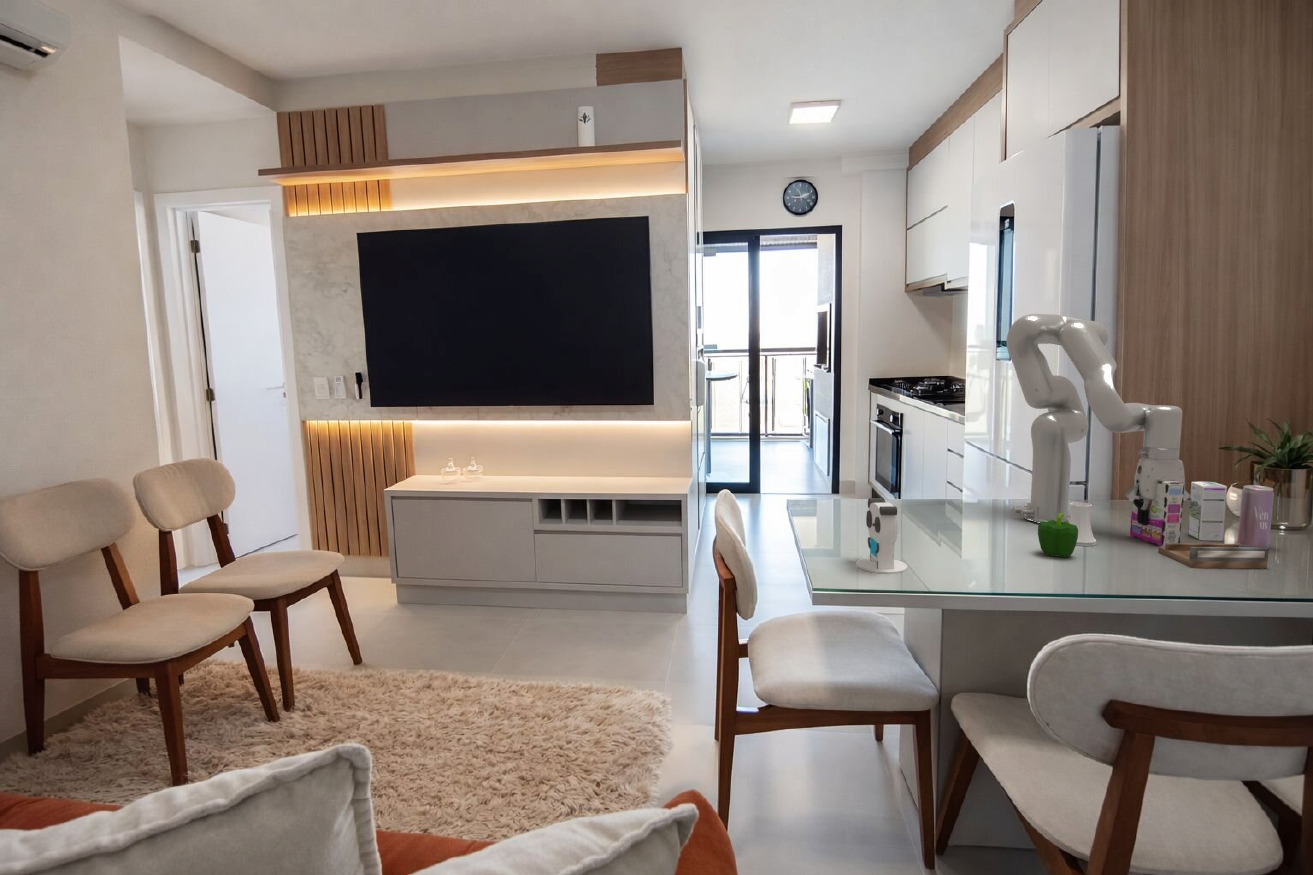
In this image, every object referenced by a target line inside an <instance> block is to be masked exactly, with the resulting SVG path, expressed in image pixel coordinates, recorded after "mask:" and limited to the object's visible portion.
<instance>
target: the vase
mask: <svg viewBox="0 0 1313 875" xmlns="http://www.w3.org/2000/svg"><path fill="white" fill-rule="evenodd" d="M1069 506H1070V514H1069V516H1070V521H1069V523H1070V524H1072V525H1076V526H1077V528H1078V539H1077V542H1076V546H1082V547H1083V546H1084V547H1090V546H1096V545H1097V539H1096V538H1095V537H1094V534H1093V530H1092V524H1091V511H1092V507H1093V504H1091V503H1088V502H1081V501H1080V502H1077V501H1075V502H1070V503H1069Z"/></svg>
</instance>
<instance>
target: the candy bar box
mask: <svg viewBox="0 0 1313 875" xmlns="http://www.w3.org/2000/svg"><path fill="white" fill-rule="evenodd" d="M1134 480H1135V475H1134V476H1133V481H1134ZM1184 484H1185V485H1186V482H1185V483H1183V482H1178V481H1158V484H1157V497H1156V499H1155V500H1150V502H1149V504H1148V507H1147V510H1148V511H1149V517H1148V525H1142V524H1139V523H1138V520H1137V512H1138V508H1137V507H1136V506H1135V505H1134V504H1133V503H1132V502H1131V504H1132V505H1131V516H1130V528H1129V530H1130V532H1129V537H1132V538H1134V539H1135V540H1140V541H1143V542H1146V543H1149V544H1151V545H1154V546H1158V547H1159V546H1165V545H1166V543H1181V532H1182V531H1181V530H1182V521H1183V520H1182V519H1183V518H1182V516H1183V509H1184V508H1183V507H1184V502H1183V497H1184ZM1135 497H1136V498H1137V499H1138V498H1139V496H1136V495H1135Z"/></svg>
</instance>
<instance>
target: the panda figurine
mask: <svg viewBox="0 0 1313 875" xmlns="http://www.w3.org/2000/svg"><path fill="white" fill-rule="evenodd" d="M867 507H868V508H867V509H868V510H867V511H866V517H865V518H866V520H865V523H866V527H867V529H868V534H869V537H867V545H868V548H869V557H864V558H860V559H858V560H857V561H856V562H855V563H856V564H855V565H856V566H857V567H858V569H861V570H862V571H866V572H869V573H870V572H871V573H876V574H884V575H885V574H886V575H887V574H888V575H890V574H900V573H901V574H902V573H904V572H906V571H907V570H908V567H909V566H908V565H907V563H905V562H903V561H901V560H898V559H895V544H896V541H897V537H898V507H897V506H895V505H893V504H892V503H891V502H886V499H885V498H884V497H877V498H876V497H871V498H870V497H869V498H868V499H867Z"/></svg>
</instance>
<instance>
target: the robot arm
mask: <svg viewBox="0 0 1313 875" xmlns="http://www.w3.org/2000/svg"><path fill="white" fill-rule="evenodd" d="M1108 340H1109V332H1108V329H1107V328H1106V327H1105V326H1104V324H1102V323H1101V322H1098V321H1095V320H1089V319H1081V318H1078V317H1077V318H1076V317H1071V316H1065V315H1059V314H1048V313H1047V314H1046V313H1032V314H1031V313H1030V314H1026V315H1023V316H1021V317H1019V318H1018V319H1017V320H1015V321H1014V322H1013V323H1012V324H1011V326H1010V328H1009V329H1008V332H1007V336H1006V348H1007V349H1006V350H1007V352H1008V355H1009V357H1010V361H1011V362H1012V365H1013V368H1014V370H1015V374H1016V377H1017V379H1018V382H1019V386H1020V388H1021V391H1022V395H1023V396H1024V401H1025V402H1026V403H1027V405H1028V406H1030V407H1031V408H1032V409H1033V408H1034V409H1035V410H1043V409H1044V410H1046V409H1047V410H1048V412H1043V413H1041V414H1039V415H1038V416H1036V417H1035V418H1034V420H1033V421H1032V424H1031V426H1030V427H1031V428H1030V435H1031V443H1032V444H1031V446H1032V465H1031V466H1032V471H1031V489H1030V502H1026V505H1023V506H1019V505H1018V506H1015V505H1014V506H1013V507H1012V512H1013V514H1021V515H1023V518H1024V517H1025V518H1026V519H1031V520H1033V521H1036V522H1045V521H1046V522H1047V521H1050V520H1055V521H1057V516H1058V514H1059V513H1063V514H1064V516H1063V517H1062V520H1061V522H1064V521H1067V522H1069V521H1070V515H1069V500H1070V499H1069V498H1070V481H1071V462H1072V461H1071V451H1070V448H1069V444H1072V443H1077V442H1079V441H1081V440H1083V439H1084V438H1085V437H1086V436H1087V434H1088V431H1089V421H1088V417H1087V414H1086V411H1085V409H1084V405H1083V403H1082V401H1081V398H1080V395H1079V392H1078V390H1077V388H1076V386H1075V384H1074V383H1073V381H1071V380H1070V379H1069V378H1067V377H1065V376H1062V375H1054V374H1053V373H1052V371H1051V368H1050V366H1049V363H1048V360H1047V357H1046V356H1045V354H1044V353H1043V352H1042V351H1041V349H1040V348H1039V345H1041V344H1042V345H1055V346H1057V345H1058V346H1061V347H1062V348H1063V350H1064V351H1065V353H1066V355H1067V356H1068V358H1069V359H1070V361H1071V362H1072V365H1073V366H1074V367H1075V369H1076V370H1077V372H1078V373H1079V375H1080V377H1081V379H1082V380H1083V384H1084V385H1083V388H1084V393H1085V397H1086V401H1087V404H1088V406H1089V408H1090V409H1091V411H1092V413H1093V414H1094V415H1095V417H1096V418H1097V420H1098V421H1099V423H1100V424H1101V426H1102V427H1104V428H1105V429H1106V430H1108V432H1112V433H1115V434H1125V433H1133V432H1143V443H1142V444H1143V446H1142V449H1138V450H1137V455H1138V456H1141V458H1139V460H1138V462H1137V467H1136V470H1135V474H1134V476H1135V480H1134V479H1133V486H1132V487H1131V488H1130V489H1129V490H1128V491H1127V492H1126V493H1125V495H1124V496H1125V497H1126V498H1127V499H1128V500H1129V501H1130V502H1131V504H1132V503H1133V504H1134V505H1135V506H1136V507H1137V508H1138V512H1137V520H1138V523H1139V524H1142V525H1148V517H1149V511H1148V510H1147V507H1148V504H1149V502H1150V500H1155V499H1156V497H1157V484H1158V481H1178V482H1183V483H1185V484H1184V497H1183V503H1184V502H1186V501H1187V500H1188V499H1190V495H1191V494H1190V493H1189V492H1188V491H1187V490H1186V481H1185V480H1186V479H1185V478H1186V476H1185V468H1184V463H1183V460H1181V459H1180V451H1181V450H1180V448H1181V435H1182V422H1183V410H1182V408H1181V407H1179V406H1176V405H1170V404H1169V405H1165V404H1164V405H1163V404H1162V405H1161V404H1158V405H1157V404H1156V405H1155V404H1154V405H1152V404H1146V403H1142V402H1141V403H1140V402H1126V403H1124V400H1123V399H1122V398H1121V396H1120V395H1119V394H1118V391H1117V390H1116V388H1115V386H1114V381H1113V377H1114V373H1115V371H1116V369H1117V368H1118V367H1117V362H1116V360H1115V359H1114V357H1113V356H1112V354H1111V353H1110V352H1109V350H1108V349H1107V347H1106V345H1107V343H1108ZM1135 495H1136V496H1139V498H1138V499H1137V498H1136V497H1135Z"/></svg>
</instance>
